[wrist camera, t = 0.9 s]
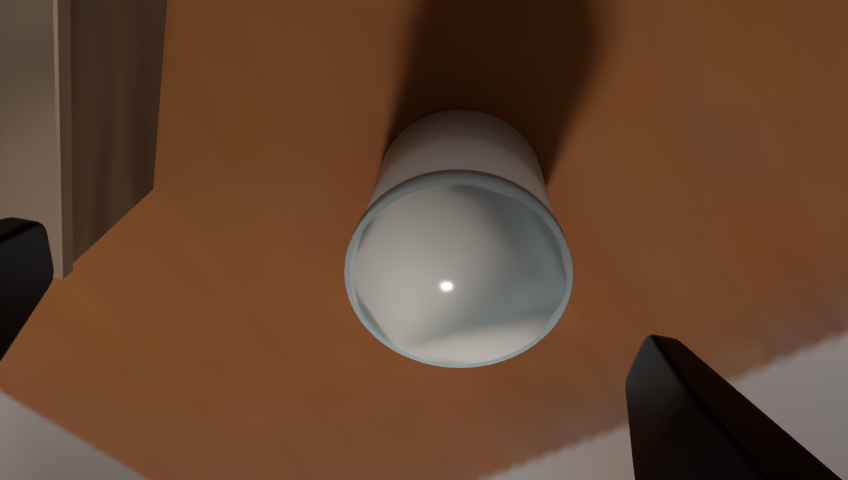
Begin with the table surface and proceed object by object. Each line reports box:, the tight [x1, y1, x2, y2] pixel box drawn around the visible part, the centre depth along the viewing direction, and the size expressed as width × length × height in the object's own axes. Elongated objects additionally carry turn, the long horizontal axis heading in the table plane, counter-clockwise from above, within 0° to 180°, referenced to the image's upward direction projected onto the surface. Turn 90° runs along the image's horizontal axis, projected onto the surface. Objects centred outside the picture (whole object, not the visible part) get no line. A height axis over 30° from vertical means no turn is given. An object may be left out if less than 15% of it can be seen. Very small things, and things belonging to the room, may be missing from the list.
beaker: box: [344, 110, 573, 368], centre depth 19 cm, size 6×6×6 cm
